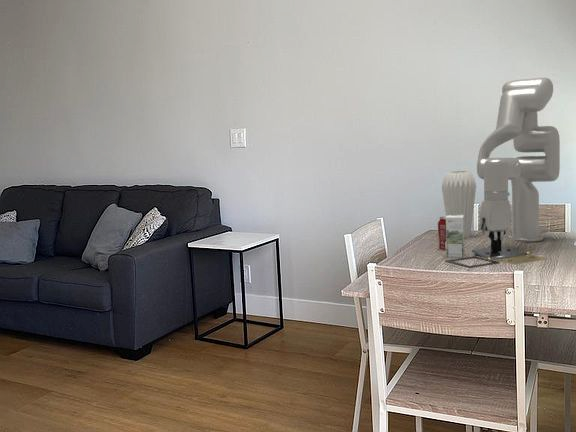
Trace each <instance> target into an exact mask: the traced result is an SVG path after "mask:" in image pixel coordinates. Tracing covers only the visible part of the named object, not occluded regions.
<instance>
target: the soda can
mask: <svg viewBox="0 0 576 432" xmlns="http://www.w3.org/2000/svg"><path fill="white" fill-rule="evenodd" d="M437 243H438V245H437V247H438V248H437V250H441V251H447V250H446V216H440V217H439V220H438V221H437Z"/></svg>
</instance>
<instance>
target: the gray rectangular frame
mask: <svg viewBox="0 0 576 432" xmlns="http://www.w3.org/2000/svg"><path fill="white" fill-rule="evenodd" d="M470 259H471V260H472V259H477V260H481V261H485V262H486V263H479V264H475V265H474V264H473V265H468V264H466V263H465V264H464V263H460V262H459V261H465V260H470ZM445 263H446V265H447V266H449V264H452V265H450V266H451V267H453V268H454V267H455V268H459V269H460V267H462V268H461V269H463V270H464V268H465V270H467V271H469V272H470V271H471V270H470V269H472V268H479V267H484V266H485V267H486V266H491V265H498V264H501V261H497V260H489V259H486V258H484V257H481V256H475V255H473V256H464V257H457V258H454V259H446V260H445ZM455 265H456V266H455ZM463 267H464V268H463ZM466 268H468V269H466Z"/></svg>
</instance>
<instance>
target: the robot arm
mask: <svg viewBox="0 0 576 432" xmlns="http://www.w3.org/2000/svg"><path fill="white" fill-rule="evenodd" d="M501 92H502V94H501V96H500V100H499V101H500V102H499V106H498V114H497V120H496V127H495V129H494V130H493V132H491V133H490V134H489V135H488V136H487V137H486V138H485V140H484V141H483V143H482V144H481V146H480V147H479V151H478V156H477V162H476V173H477V177H479V179H481V180H483V191H484V193H483V194H484V196H483V198H484V199H483V200H482V201H481V205H480V210H479V211H480V212H479V225H478V226H479V230H481V231H482V232H481V234H482V235H483V236H487V237H488V239H489V240H490V247H491V251H494V252H501V246H502V240H503V239H504V236H505V235H506V234H508V233H510V232H511V233H512V234H509V235H508V236H507V239H508V240H510V241H515V242H516V241H517V242H521V243H533V242H539V241H540V242H541V241H543V240H544V236H543V235H542V234H543V233H545V234H546V233H548V232H549V228H548V227H541V226H540V219H539V218H540V207H539V206H540V204H539V203H540V195H539V194H540V193H539V190H538V189H537V187H536V186H535V185H534V184H533V183H534V182H536V183H537V182H539V183H540V182H543V183H545V182H546V183H547V182H554V181H556V180H558V179H559V177H560V176H559V175H560V171H561V170H560V169H561V167H560V166H561V164H560V162H561V161H560V157H561V156H560V155H561V149H560V148H561V147H560V146H561V145H560V143H561V142H560V139H561V138H560V134H559V130H558V129H557V128H556V127H555V126H553V125H541V126H540V125H538V112H541V111H543V110H544V109H545V107H546V106H547V104H549V102H550V101H551V99H552V97H553V93H554V83H553V81H552V79H550V78H548V77H536V78H524V79H516V80H510V81H506V82H505V83H504V84H503V85H502V87H501ZM511 140H512V141H513V142H512V143H513V148H514V150H515V152H518V153H526V154H527V153H544V154H545V155H524V156H523V155H522V156H517V157H491V155H492V152H493V151H495V149H496V148H498V147H499V146H501V145H502V144H505V143H507V142H509V141H511ZM509 181H510V182H511V192H509ZM510 193H511V194H510ZM510 195H511V202H510V200H509V197H510ZM510 203H511V204H510ZM511 229H512V230H511Z"/></svg>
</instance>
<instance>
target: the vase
mask: <svg viewBox="0 0 576 432" xmlns="http://www.w3.org/2000/svg"><path fill="white" fill-rule="evenodd" d="M476 189H477V184H476V181H475V177H474V175H473V174H472V172H471V171H469V170H458V171H447V172H446V174H445V175H444V177H443V180H442V185H441V193H442V197H443V203H444V211H445V217H446V216H447V215H464V239H469V238H471V233H472V224H473V215H474V208H475V199H476V191H477V190H476Z"/></svg>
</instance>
